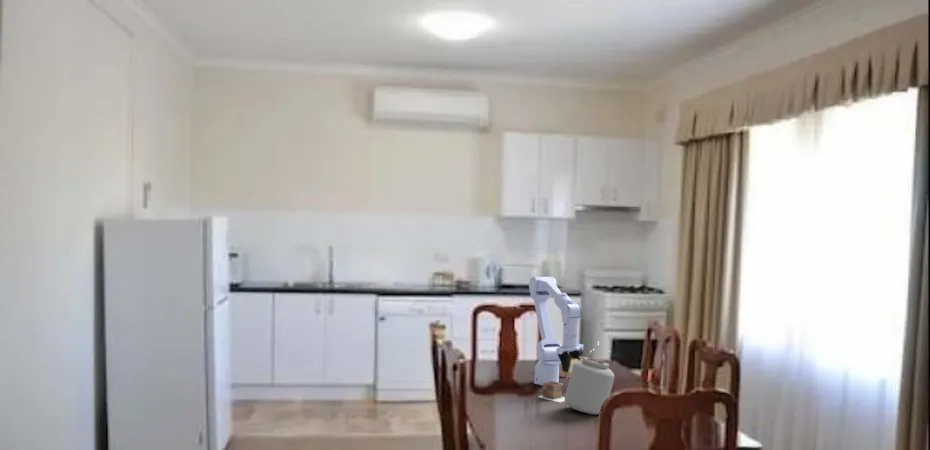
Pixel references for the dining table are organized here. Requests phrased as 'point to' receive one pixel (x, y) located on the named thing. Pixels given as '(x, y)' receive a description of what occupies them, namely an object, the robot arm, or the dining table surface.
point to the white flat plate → (554, 399)
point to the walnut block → (552, 390)
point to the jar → (589, 385)
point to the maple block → (569, 366)
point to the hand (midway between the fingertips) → (569, 370)
